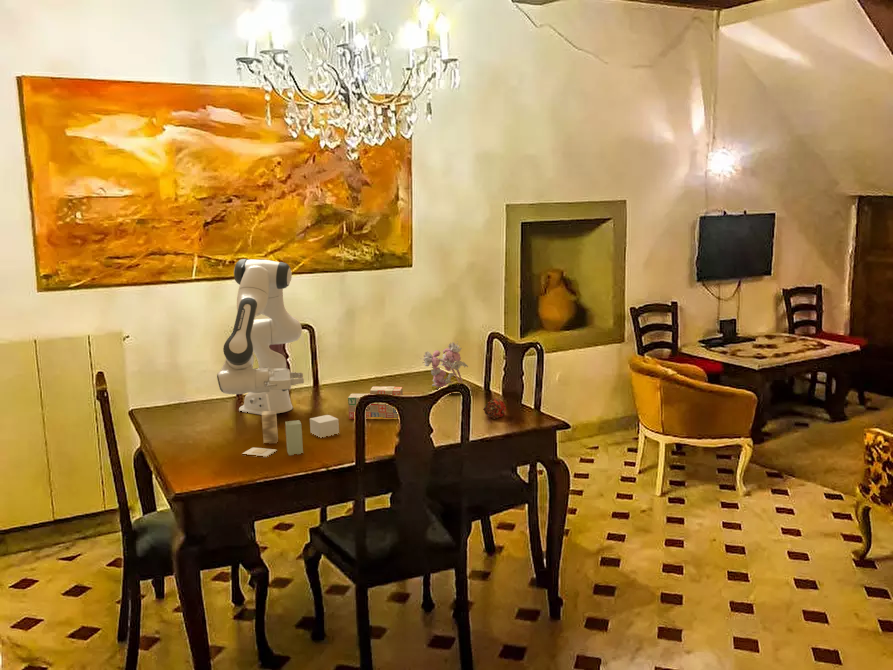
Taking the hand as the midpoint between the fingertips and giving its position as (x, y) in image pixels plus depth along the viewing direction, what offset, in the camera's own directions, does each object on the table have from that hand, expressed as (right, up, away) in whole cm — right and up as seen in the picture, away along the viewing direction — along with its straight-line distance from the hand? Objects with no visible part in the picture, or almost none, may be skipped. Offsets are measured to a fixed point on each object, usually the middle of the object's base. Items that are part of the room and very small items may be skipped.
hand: (303, 377), depth 310 cm
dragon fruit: (+71, -18, +32) cm, 80 cm away
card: (-15, -27, -4) cm, 31 cm away
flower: (+51, -10, +74) cm, 90 cm away
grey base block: (+5, -22, +17) cm, 28 cm away
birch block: (-14, -24, +9) cm, 29 cm away
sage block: (-2, -26, -4) cm, 27 cm away
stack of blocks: (+23, -18, +36) cm, 47 cm away
